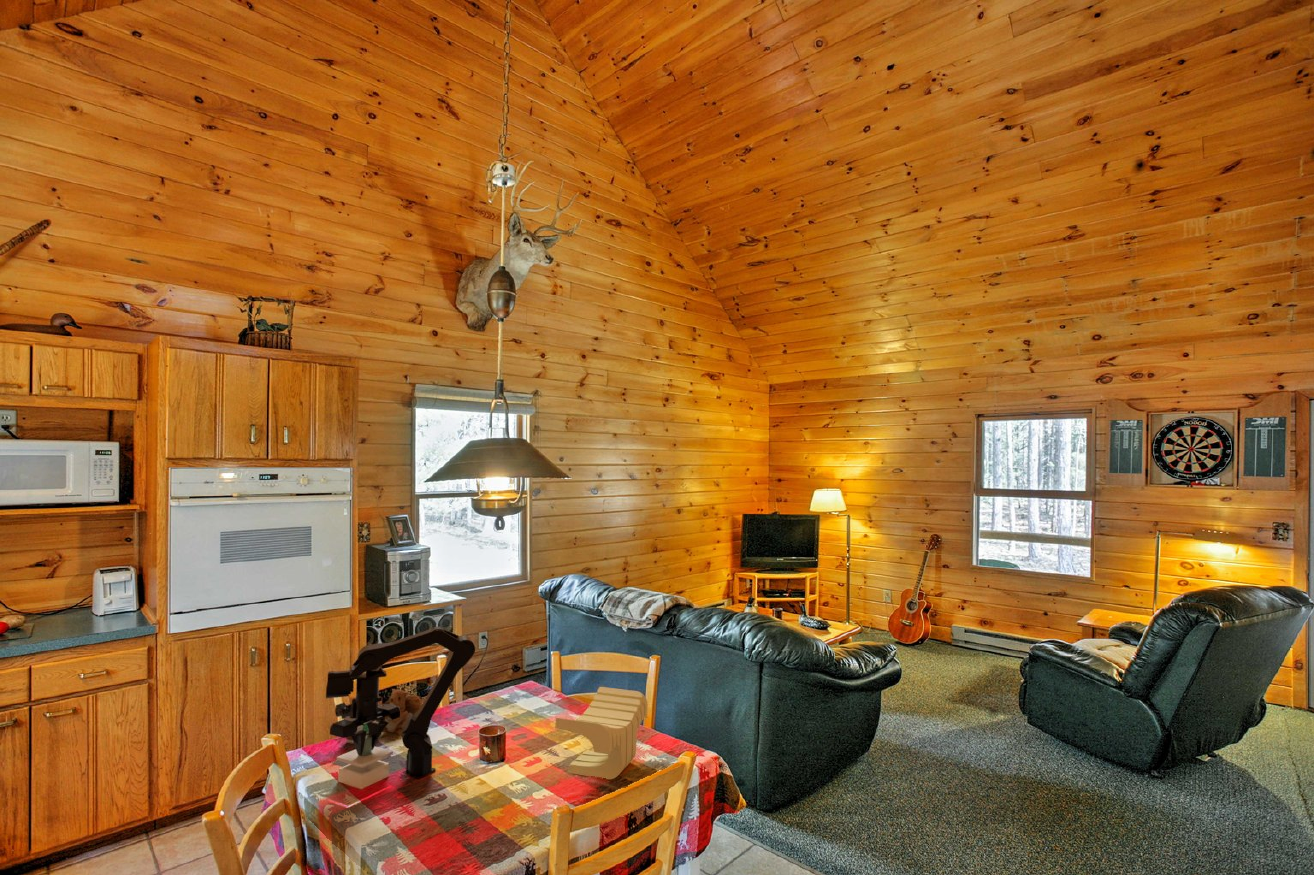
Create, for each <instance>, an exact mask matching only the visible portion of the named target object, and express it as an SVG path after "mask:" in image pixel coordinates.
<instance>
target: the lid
mask: <svg viewBox="0 0 1314 875" xmlns="http://www.w3.org/2000/svg"><path fill="white" fill-rule="evenodd" d="M392 755H394V751H393V750H390V749H386V748H382V747H378V746H376V745H375V746H374V748H373V750H372V736H370V735H366V738H365V743H364V748H363V752H362V755H358V753H357V751H356V748H355V749H353V750H350V751H347V752H346V753H343V754H341V755H338V756H336V761H337V760H338V761H342V762H345V763H348V764H352V765H355V766H358V767H365V766H367V765H369V764H372V763H374V762H376V761H378V760H381V759H383V758H385V757H390V756H392Z"/></svg>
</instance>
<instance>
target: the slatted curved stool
mask: <svg viewBox="0 0 1314 875" xmlns="http://www.w3.org/2000/svg"><path fill="white" fill-rule="evenodd" d="M596 692H597V693H596V694H595V695H594V697H593V701H591V702H590V704H589V707H587V709H585V711H584V712H583V713H582V714H581V715H580V716H579V717H577V718H576V719H567V718H560V717H555V726H554V727H555V729H558V730H562V731H567V732H572V733H575V734H578V735H581V736H583V737H584V738H586V739H587V740H588V741H589V742H590V743H591V745H592V748H593V750H588V749H586V750H584V751H583V752H582V753H581V754H580V755H579V756H577V758H575V759H574V760H572V762H571V763H569V766H568V770H567V773H569V774H573V775H574V774H575V775H581V776H584V777H585V776H586V777H591V776H595V777H594V778H597V777H602V778H601V779H603V778H606V779H605V780H614V779H616V778H617V777H618V776H619V775H620V774H621V773H622V772H623V771H624V770H625V769H626V767H627V766H629V764H631V762H632V761H633V760H634V759H635V757H636V753H637V741H638V733H639V732H638V729H639V728H640V726H641V723H642V721H644V720H645V719H646V718H648V700H647V698H646V696H645V695H644V694H643V693H642V692H640V691H639V690H638V691H637V690H630V689H622V688H621V689H620V688H614V687H613V688H612V687H608V686H607V687H606V686H599V687H598V689H597V691H596ZM596 776H597V777H596Z"/></svg>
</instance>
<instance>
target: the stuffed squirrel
mask: <svg viewBox="0 0 1314 875" xmlns="http://www.w3.org/2000/svg"><path fill="white" fill-rule="evenodd" d="M391 691H392V692H391V694H390V697H389V699H387V700H386V701H385V702H384V705H386V704H389V705H393V706H397V707H399V709H400V717H399V718H396V719H394V720H391V719H390V718H389V716H386V717H385V721H386V722H388V725H386V726H385V728H384V730H383V731H382V733H383V732H390V733H395V734H397V735H399V736H401V735H402V733H401V732H402V724H403V723H404V722H405V721H406V719H407V717H408V714H409V713H412V714H413V715H414V714H415V713H416V712H417V711H418V710H419V709H420V707H421V705H422V704H423V702H424V699H423V698H420V696H418V695H416V694H413V695H412V694H411V692H410V691H405V690H403V689H402V690H401V689H396V688H392V689H391Z"/></svg>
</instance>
